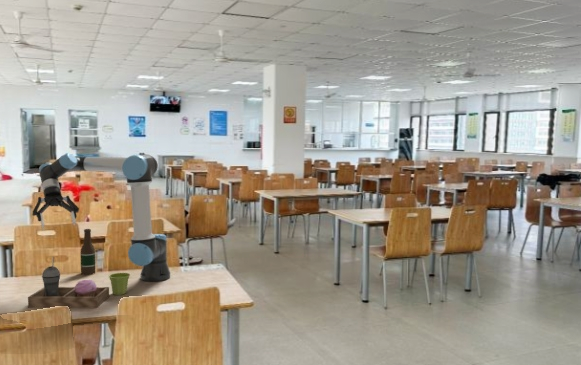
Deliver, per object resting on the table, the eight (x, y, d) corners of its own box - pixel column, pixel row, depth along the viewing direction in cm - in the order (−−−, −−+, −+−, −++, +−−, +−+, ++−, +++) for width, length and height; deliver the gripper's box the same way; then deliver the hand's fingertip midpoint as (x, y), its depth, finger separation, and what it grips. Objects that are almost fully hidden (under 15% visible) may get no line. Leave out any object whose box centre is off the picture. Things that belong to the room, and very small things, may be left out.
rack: (109, 296, 224) (109, 287, 223) (97, 307, 209) (96, 297, 208) (45, 296, 223) (44, 286, 223) (28, 307, 208) (27, 297, 208)
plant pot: (108, 291, 232) (108, 273, 231) (129, 289, 235) (129, 271, 235) (109, 297, 223) (108, 278, 223) (130, 295, 227) (130, 276, 226)
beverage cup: (46, 299, 219) (45, 254, 217) (63, 298, 219) (62, 254, 218) (39, 304, 211) (38, 258, 210) (57, 304, 212) (56, 258, 211)
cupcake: (70, 303, 214) (70, 281, 213) (85, 298, 222) (85, 276, 221) (86, 306, 210) (86, 283, 210) (101, 300, 219) (100, 278, 218)
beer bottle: (98, 273, 264) (97, 229, 262) (84, 276, 258) (83, 231, 256) (92, 270, 269) (91, 227, 267) (77, 273, 263) (76, 229, 261)
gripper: (77, 193, 250) (85, 227, 239) (22, 196, 235) (28, 232, 224) (79, 184, 245) (88, 217, 234) (23, 186, 230) (30, 222, 219)
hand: (59, 224), depth 229 cm, fingers open, 13 cm apart
